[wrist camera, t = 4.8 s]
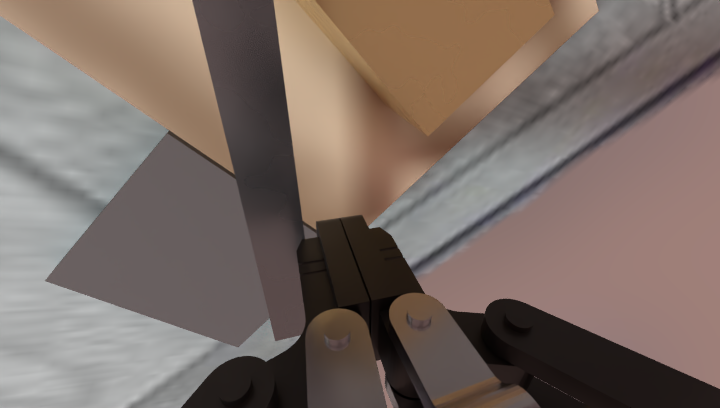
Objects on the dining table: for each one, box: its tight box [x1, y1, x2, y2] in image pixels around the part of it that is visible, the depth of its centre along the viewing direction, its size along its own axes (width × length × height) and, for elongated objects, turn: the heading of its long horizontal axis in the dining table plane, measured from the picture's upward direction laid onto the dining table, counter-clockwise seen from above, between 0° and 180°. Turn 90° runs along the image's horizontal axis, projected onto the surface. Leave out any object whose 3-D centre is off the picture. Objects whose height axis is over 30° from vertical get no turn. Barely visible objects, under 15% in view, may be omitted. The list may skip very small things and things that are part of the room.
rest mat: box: [45, 130, 317, 347], centre depth 18 cm, size 10×11×1 cm
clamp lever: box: [192, 0, 306, 341], centre depth 9 cm, size 18×3×6 cm, turn 1°
